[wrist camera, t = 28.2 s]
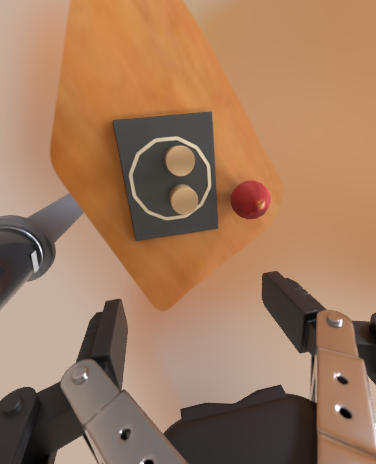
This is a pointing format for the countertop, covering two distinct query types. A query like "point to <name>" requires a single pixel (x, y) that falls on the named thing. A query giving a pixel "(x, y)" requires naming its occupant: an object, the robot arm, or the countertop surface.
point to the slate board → (167, 172)
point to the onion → (250, 199)
